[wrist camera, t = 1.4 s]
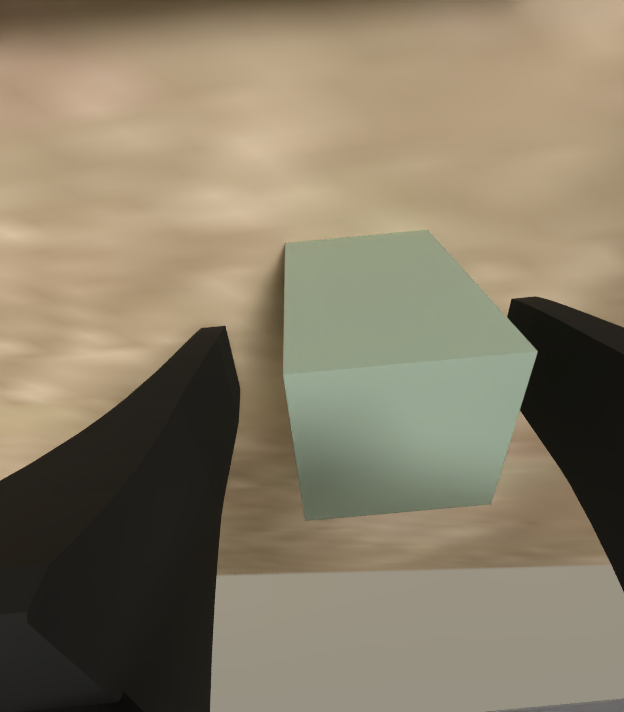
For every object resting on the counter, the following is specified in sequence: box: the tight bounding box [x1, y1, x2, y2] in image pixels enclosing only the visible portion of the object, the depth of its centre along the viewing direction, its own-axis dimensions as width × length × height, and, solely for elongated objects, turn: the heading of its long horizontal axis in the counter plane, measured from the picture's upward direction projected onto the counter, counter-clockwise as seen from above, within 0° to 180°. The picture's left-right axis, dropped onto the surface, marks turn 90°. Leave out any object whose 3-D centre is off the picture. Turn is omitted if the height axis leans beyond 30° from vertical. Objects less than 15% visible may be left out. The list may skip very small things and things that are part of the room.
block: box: [283, 230, 538, 521], centre depth 10 cm, size 4×4×6 cm
